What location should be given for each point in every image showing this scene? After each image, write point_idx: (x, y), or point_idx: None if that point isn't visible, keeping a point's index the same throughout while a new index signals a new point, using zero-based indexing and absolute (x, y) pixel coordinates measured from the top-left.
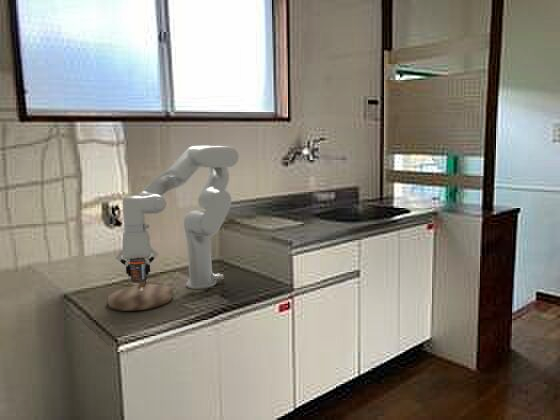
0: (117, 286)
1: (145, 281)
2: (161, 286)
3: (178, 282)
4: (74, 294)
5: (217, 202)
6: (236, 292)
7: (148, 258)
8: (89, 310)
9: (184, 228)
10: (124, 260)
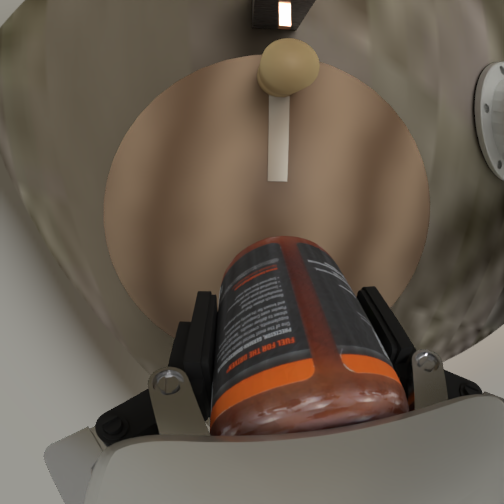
0: None
1: (301, 15)
2: (394, 143)
3: (445, 29)
4: None
5: None
6: None
7: (436, 398)
8: (72, 272)
9: None
10: (143, 433)
